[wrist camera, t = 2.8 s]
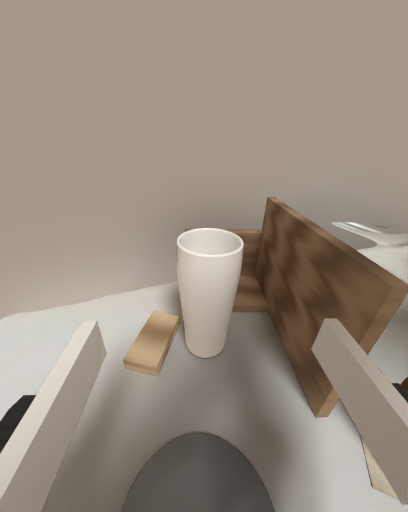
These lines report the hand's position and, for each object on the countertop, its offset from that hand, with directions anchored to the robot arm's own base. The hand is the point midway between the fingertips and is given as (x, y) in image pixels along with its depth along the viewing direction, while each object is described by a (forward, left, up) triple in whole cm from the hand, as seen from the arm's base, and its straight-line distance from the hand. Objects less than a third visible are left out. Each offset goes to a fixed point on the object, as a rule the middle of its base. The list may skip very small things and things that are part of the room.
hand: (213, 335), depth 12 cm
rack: (+7, -12, -13) cm, 19 cm away
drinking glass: (+7, -7, -13) cm, 17 cm away
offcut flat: (+12, -2, -14) cm, 18 cm away
